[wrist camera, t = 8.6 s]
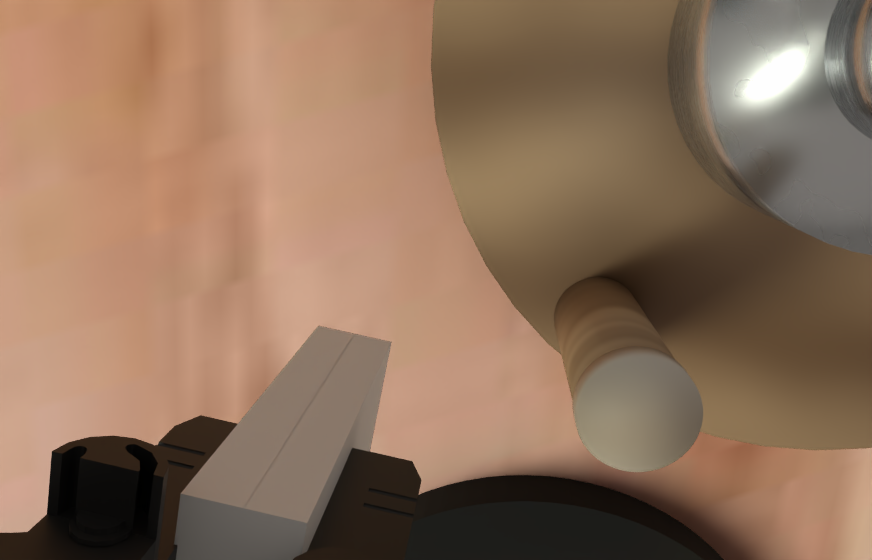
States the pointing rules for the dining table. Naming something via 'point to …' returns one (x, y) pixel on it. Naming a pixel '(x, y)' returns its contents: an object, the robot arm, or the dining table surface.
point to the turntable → (641, 240)
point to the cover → (781, 108)
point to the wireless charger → (545, 523)
